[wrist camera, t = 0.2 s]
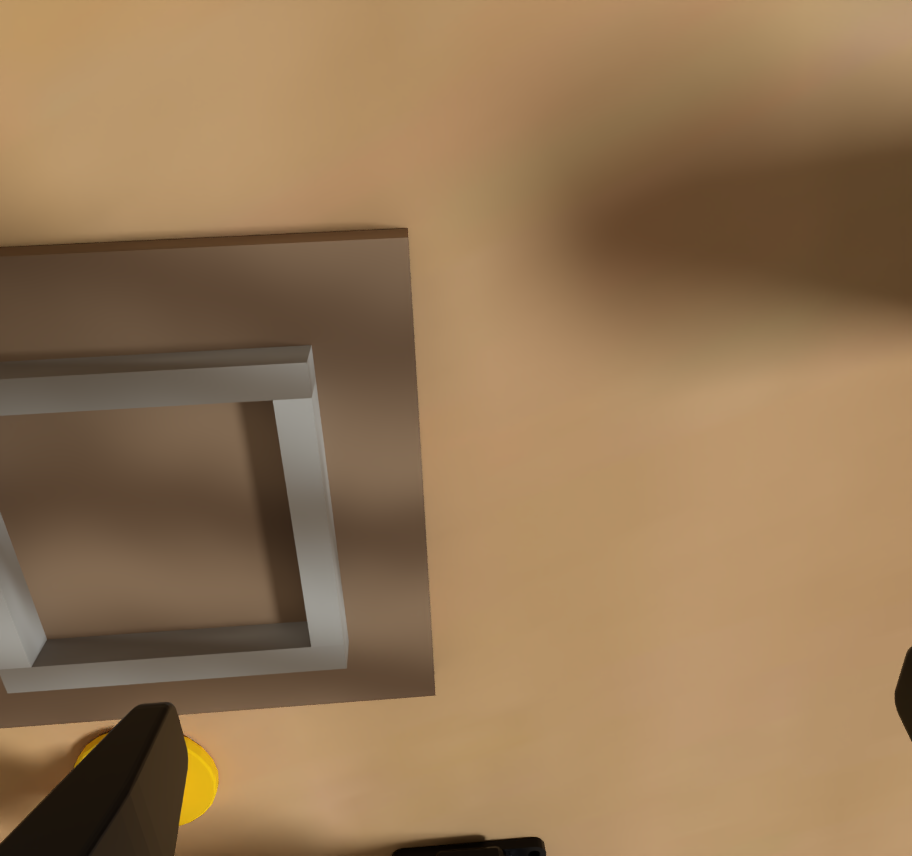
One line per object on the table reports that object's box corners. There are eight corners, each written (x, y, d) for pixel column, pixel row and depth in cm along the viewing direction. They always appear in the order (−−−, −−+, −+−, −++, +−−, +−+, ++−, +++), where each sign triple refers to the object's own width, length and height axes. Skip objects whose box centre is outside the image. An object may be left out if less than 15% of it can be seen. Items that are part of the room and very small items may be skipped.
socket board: (434, 674, 28) (436, 722, 26) (-21, 707, 27) (-54, 761, 25) (407, 228, 20) (408, 249, 18) (-222, 257, 20) (-290, 283, 18)
